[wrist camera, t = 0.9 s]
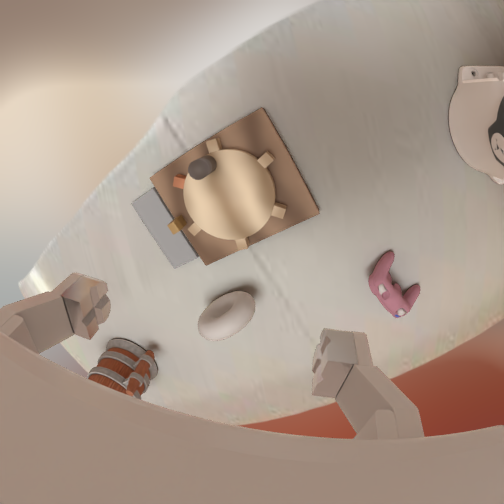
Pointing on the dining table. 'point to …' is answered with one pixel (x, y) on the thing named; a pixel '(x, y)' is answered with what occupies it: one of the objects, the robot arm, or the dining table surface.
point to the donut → (226, 316)
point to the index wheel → (229, 193)
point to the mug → (125, 368)
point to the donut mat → (164, 229)
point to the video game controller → (391, 288)
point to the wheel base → (281, 169)
